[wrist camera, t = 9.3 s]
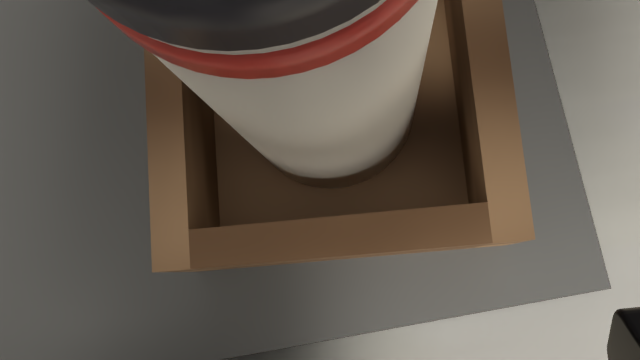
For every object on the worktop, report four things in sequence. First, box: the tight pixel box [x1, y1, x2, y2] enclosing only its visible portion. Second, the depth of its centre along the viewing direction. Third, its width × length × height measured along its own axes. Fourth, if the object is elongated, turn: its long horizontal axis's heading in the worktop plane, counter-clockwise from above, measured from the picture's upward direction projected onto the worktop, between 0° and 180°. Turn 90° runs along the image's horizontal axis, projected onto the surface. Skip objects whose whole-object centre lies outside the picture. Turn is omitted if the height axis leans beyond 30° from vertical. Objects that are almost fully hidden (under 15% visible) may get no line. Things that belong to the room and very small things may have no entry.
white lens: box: [88, 0, 438, 189], centre depth 12 cm, size 5×5×13 cm
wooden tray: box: [144, 0, 535, 272], centre depth 17 cm, size 10×10×4 cm
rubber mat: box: [0, 0, 611, 360], centre depth 19 cm, size 24×14×1 cm, turn 101°
